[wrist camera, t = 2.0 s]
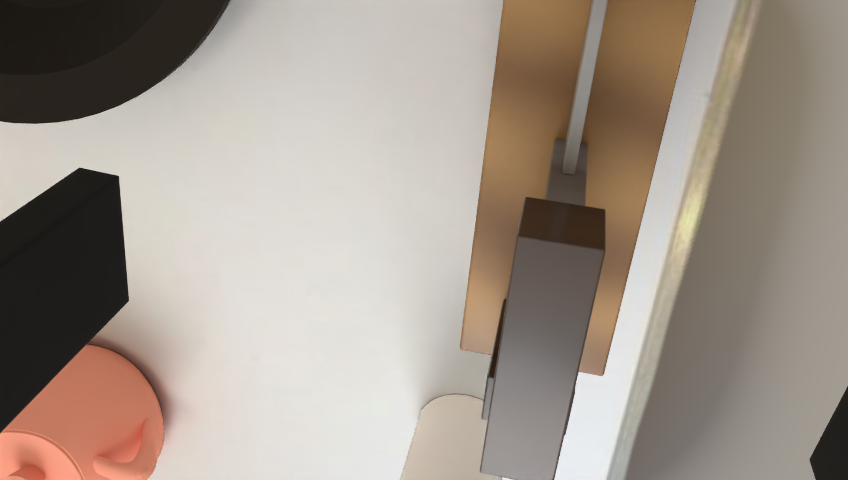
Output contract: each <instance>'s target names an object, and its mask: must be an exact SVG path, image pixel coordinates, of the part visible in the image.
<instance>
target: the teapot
mask: <svg viewBox="0 0 848 480" xmlns="http://www.w3.org/2000/svg"><path fill="white" fill-rule="evenodd" d="M163 441H164V424H163V418H162V413H161V409H160V405H159V402H158V399H157V397H156V394H155V392H154V390H153V389H152V387H151V385H150V384H149V382H148V381H147V379H146V378H145V377H144V376H143V374H142V373H141V372H140V371H139V370H138V369H137V368H136V367H135V366H134V365H133V364H132V363H131V362H130V361H128V360H127V359H126V358H124V357H123V356H121V355H119V354H117V353H115V352H114V351H111V350H109V349H106V348H102V347H99V346H94V345H87V344H86V345H85V346H84V348H83V349H82V350H81V351H80V352H79V353H78V354H77V355H76V356H75V357H74V358H73V359H72V360H71V361H70V362H69V363H68V364H67V365H66V366H65V367H64V368H63V369H62V370H61V371H60V372H59V373H58V374H57V375H56V376H55V377H54V378H53V379H52V380H51V382H50V383H49V384H48V385H47V386H46V387H45V388H44V389H43V390H42V391H41V392H40V393H39V394H38V395H37V396H36V397H35V398H34V399H33V400H32V401H31V402H30V403H29V404H28V405H27V406H26V407H25V408H24V409H23V410H22V411H21V412H20V413H19V414H18V415H17V417H16V418H15V419H14V420H13V421H12V422H11V423H10V424H9V425H8V426H7V427H6V428H5V429H4V430H3V431H2V432H1V433H0V480H147V479H148V478H149V477H150V476H151V474H152V473H153V471H154V469H155V466H156V463H157V458H158V457H159V455H160V453H161V450H162V446H163Z"/></svg>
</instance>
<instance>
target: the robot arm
mask: <svg viewBox="0 0 848 480" xmlns="http://www.w3.org/2000/svg"><path fill="white" fill-rule="evenodd" d="M128 301H129V296H128V284H127V272H126V259H125V247H124V235H123V223H122V210H121V198H120V186H119V176H116V175H111V174H107V173H102V172H97V171H93V170H88V169H83V168H78V169H77V170H75V171H74V172H72V173H71V174H70V175H68V176H67V177H65V178H64V179H62V180H61V181H59V182H58V183H56V184H55V185H53V186H52V187H50V188H49V189H48V190H46V191H45V192H43V193H42V194H40V195H39V196H37V197H36V198H34V199H33V200H31V201H30V202H28V203H27V204H26V205H24V206H23V207H21V208H20V209H18V210H17V211H15V212H14V213H12V214H11V215H9V216H8V217H6V218H5V219H3V220H2V221H1V222H0V433H1V432H2V431H3V430H4V429H5V428H6V427H7V426H8V425H9V424H10V423H11V422H12V421H13V420H14V419H15V418H16V417H17V415H18V414H19V413H20V412H21V411H22V410H23V409H24V408H25V407H26V406H27V405H28V404H29V403H30V402H31V401H32V400H33V399H34V398H35V397H36V396H37V395H38V394H39V393H40V392H41V391H42V390H43V389H44V388H45V387H46V386H47V385H48V384H49V383H50V382H51V380H52V379H53V378H54V377H55V376H56V375H57V374H58V373H59V372H60V371H61V370H62V369H63V368H64V367H65V366H66V365H67V364H68V363H69V362H70V361H71V360H72V359H73V358H74V357H75V356H76V355H77V354H78V353H79V352H80V351H81V350H82V349H83V348H84V346H85V345H86V344H87V343H88V342H89V341H90V340H91V339H92V338H93V337H94V336H95V335H96V334H97V333H98V332H99V331H100V330H101V329H102V328H103V327H104V326H105V325H106V324H107V323H108V322H109V321H110V320H111V319H112V318H113V317H114V316H115V315H116V314H117V313H118V311H119V310H120V309H121V308H122V307H123V306H124V305H125V304H126V303H127V302H128ZM810 463H811V466H812V469H813V472H814V476H815V479H816V480H848V387H847V389H846V391H845V393H844V395H843V397H842V398H841V400H840V402H839V404H838V406H837V408H836V410H835V412H834V414H833V415H832V417H831V419H830V422H829V423H828V425H827V427H826V429H825V431H824V433H823V435H822V437H821V438H820V441H819V442H818V444H817V446H816V448H815V450H814V452H813V454H812V456H811V458H810Z"/></svg>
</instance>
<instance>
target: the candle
mask: <svg viewBox="0 0 848 480" xmlns="http://www.w3.org/2000/svg"><path fill="white" fill-rule="evenodd" d="M483 402H484V401H482V400H481V399H478V398H475V397H471V396H468V395H459V394H453V395H445V396H441V397H439V398H436V399H433V400H432V401H431V402H429V403H428V404H427V405H425V407H424V408H423V410H422V411H421V412H420V415H419V419H418V422H417V425H416V428H415V432H414V435H413V438H412V442H411V445H410V448H409V451H408V455H407V458H406V461H405V464H404V468H403V471H402V474H401V478H400V480H502V477H500V476H495V475H490V474H485V473H481V472H480V465H481V459H482V452H483V446H484V440H485V433H486V427H487V421H488V420H483V419H482V418H481V415H482V408H483Z"/></svg>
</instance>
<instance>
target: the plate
mask: <svg viewBox="0 0 848 480" xmlns="http://www.w3.org/2000/svg"><path fill="white" fill-rule="evenodd" d="M229 2H230V0H0V121H2V122H10V123H31V124H38V123H54V122H62V121H68V120H74V119H79V118H83V117H87V116H90V115H94V114H98V113H101V112H103V111H106V110H109V109H111V108H114V107H116V106H119V105H121V104H123V103H125V102H127V101H129V100H131V99H133V98H135V97H137V96H139V95H140V94H142V93H144V92H145V91H147V90H148V89H150V88H151V87H153V86H154V85H156V84H157V83H159V82H160V81H162V80H163V79H165V78H166V77H167V76H169V75H170V74H171V73H172V72H173V71H175V70H176V69H177V68H178V67H179V66H181V65H182V64H183V63H184V62H185V61H186V60H187V59H188V58H189V57H190V56H191V55H192V54H193V53H194V52H195V51H196V50H197V49H198V48H199V46H200V45H201V44H202V42H203V41H204V40H205V39H206V37H207V36H208V35H209V34H210V32H211V31H212V30H213V28H214V27H215V25H216V24H217V22H218V20H219V19H220V17H221V16H222V14H223V12H224V11H225V9H226V8H227V6H228V4H229Z"/></svg>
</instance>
